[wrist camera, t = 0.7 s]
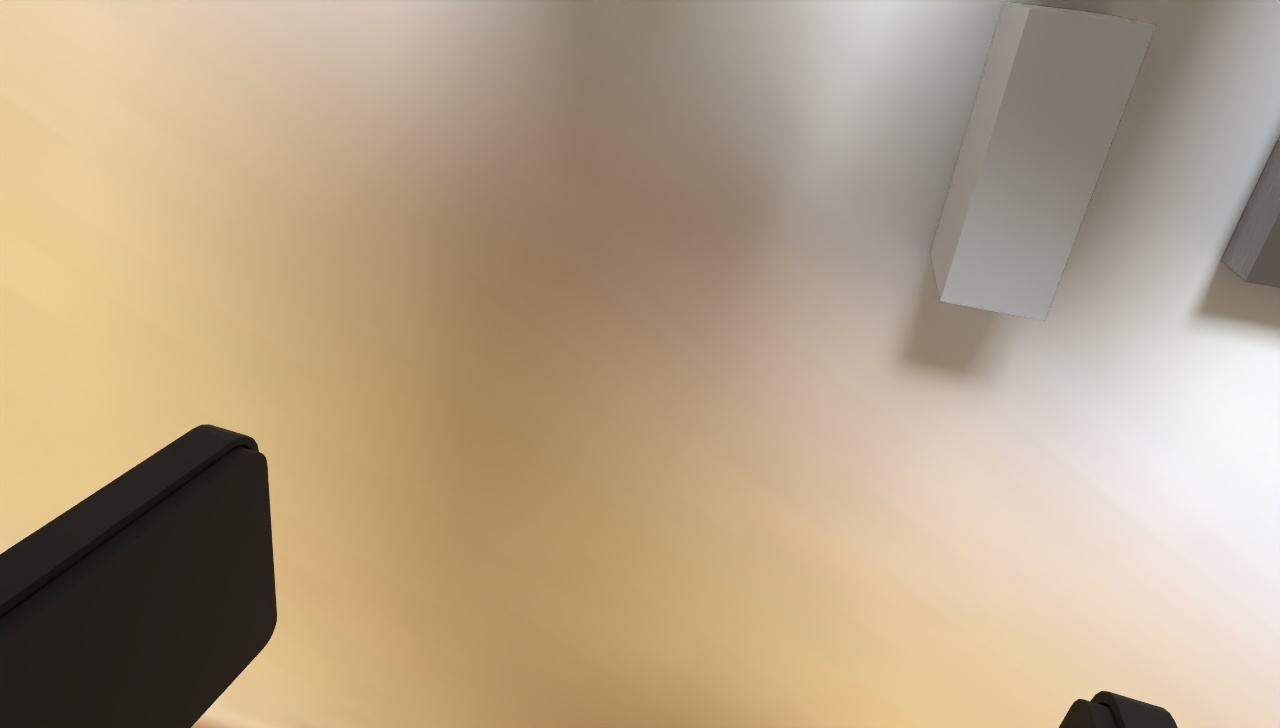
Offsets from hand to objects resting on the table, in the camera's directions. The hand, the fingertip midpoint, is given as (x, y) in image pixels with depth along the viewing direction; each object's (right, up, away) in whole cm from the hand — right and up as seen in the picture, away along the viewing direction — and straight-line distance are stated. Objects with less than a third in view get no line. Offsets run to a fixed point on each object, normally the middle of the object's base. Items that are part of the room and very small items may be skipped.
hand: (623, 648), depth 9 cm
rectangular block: (+14, +12, +22) cm, 28 cm away
